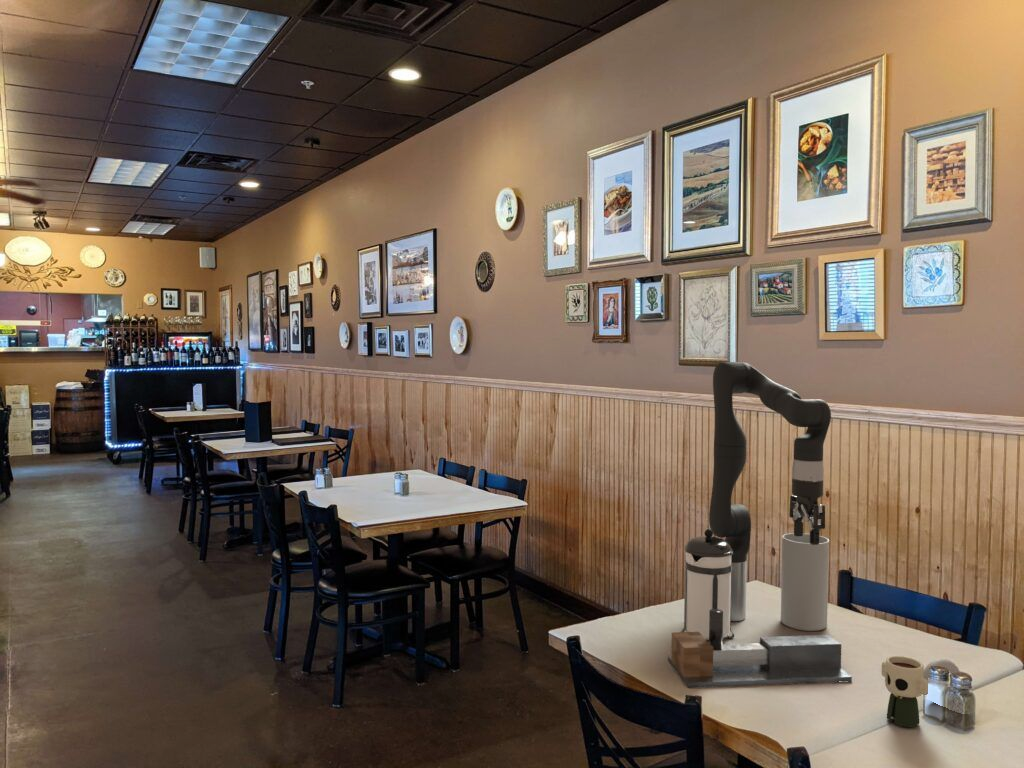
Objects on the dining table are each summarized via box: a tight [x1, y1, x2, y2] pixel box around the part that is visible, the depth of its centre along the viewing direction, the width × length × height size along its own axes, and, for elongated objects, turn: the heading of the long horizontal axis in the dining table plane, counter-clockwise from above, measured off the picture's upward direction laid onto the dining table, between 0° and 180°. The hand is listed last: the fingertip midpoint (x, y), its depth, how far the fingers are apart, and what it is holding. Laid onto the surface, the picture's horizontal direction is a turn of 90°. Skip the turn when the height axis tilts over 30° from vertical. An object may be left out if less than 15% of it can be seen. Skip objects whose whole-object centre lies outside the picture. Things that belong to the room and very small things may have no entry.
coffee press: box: [680, 528, 735, 641], centre depth 209 cm, size 17×16×30 cm
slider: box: [708, 609, 769, 666], centre depth 186 cm, size 4×24×13 cm, turn 96°
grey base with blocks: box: [667, 634, 853, 689], centre depth 187 cm, size 16×40×7 cm, turn 96°
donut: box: [923, 658, 961, 681], centre depth 170 cm, size 10×4×10 cm, turn 107°
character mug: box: [881, 655, 928, 728], centre depth 161 cm, size 11×7×13 cm, turn 24°
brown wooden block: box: [670, 631, 713, 677], centre depth 185 cm, size 10×7×7 cm
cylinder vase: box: [780, 532, 830, 632], centre depth 219 cm, size 12×12×25 cm
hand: (806, 540), depth 196 cm, fingers open, 8 cm apart
